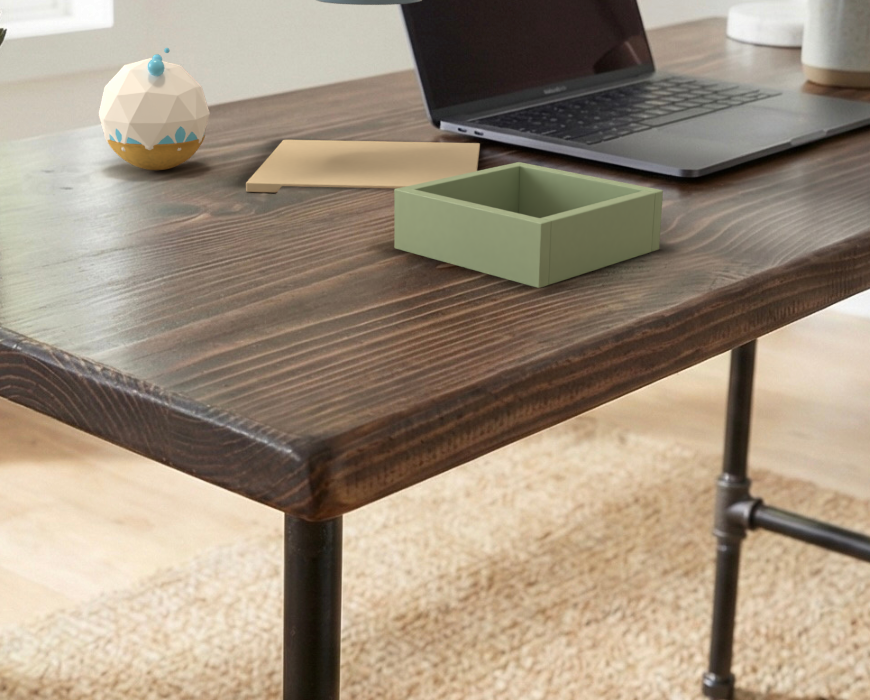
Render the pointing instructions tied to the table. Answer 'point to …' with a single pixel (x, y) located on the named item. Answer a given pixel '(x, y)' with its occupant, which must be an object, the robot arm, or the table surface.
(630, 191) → the open square box
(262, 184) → the wooden board
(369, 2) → the cup
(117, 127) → the ornament
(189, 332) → the table surface
